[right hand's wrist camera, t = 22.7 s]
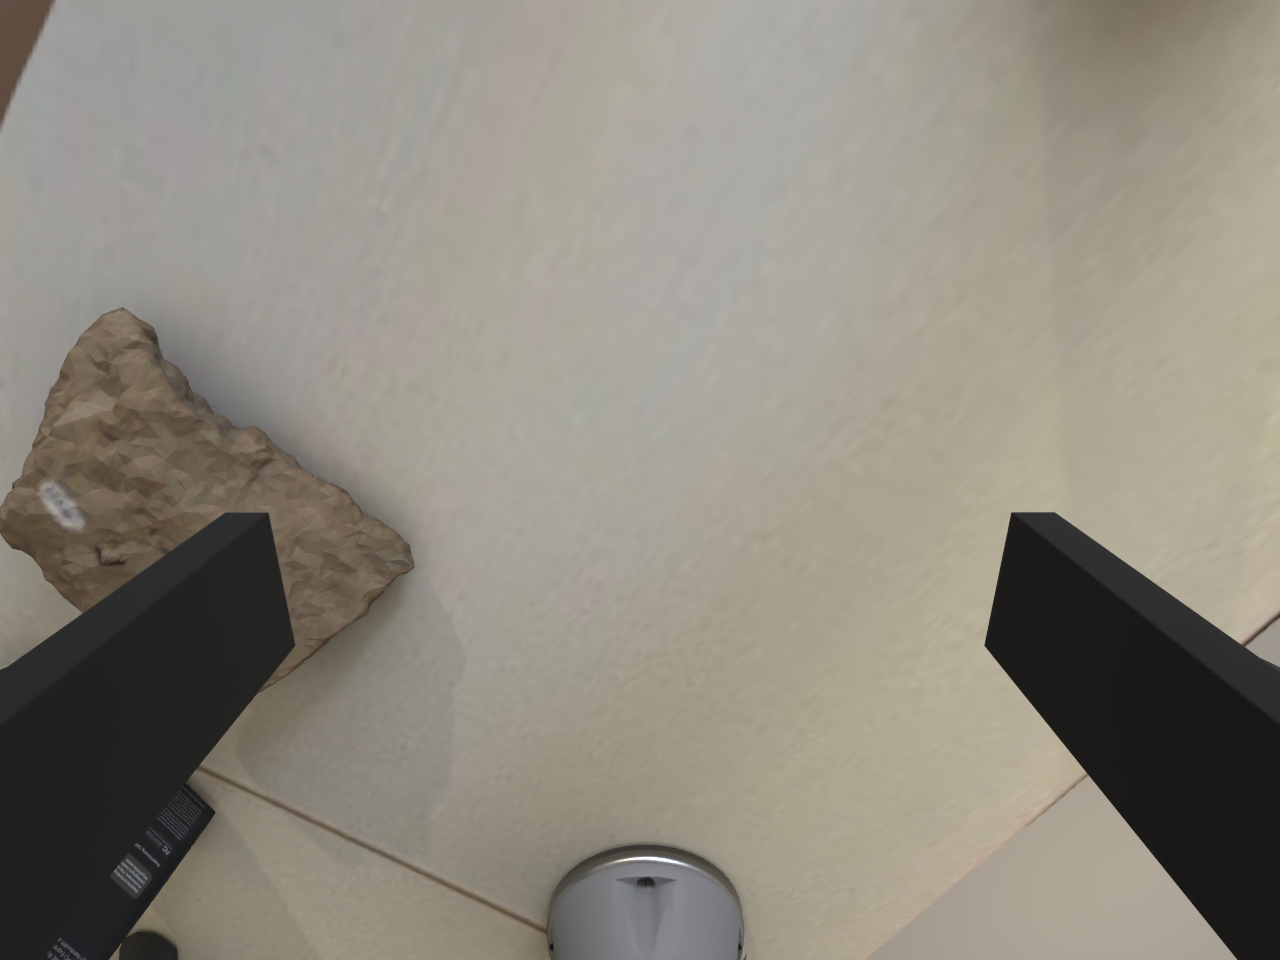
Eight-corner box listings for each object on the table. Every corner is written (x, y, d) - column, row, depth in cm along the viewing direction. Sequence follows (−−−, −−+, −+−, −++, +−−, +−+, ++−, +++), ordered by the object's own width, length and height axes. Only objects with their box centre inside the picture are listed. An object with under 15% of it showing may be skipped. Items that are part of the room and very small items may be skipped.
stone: (-48, 486, 39) (-126, 526, 34) (132, 296, 39) (84, 304, 33) (279, 679, 48) (259, 736, 42) (429, 525, 47) (429, 562, 42)
